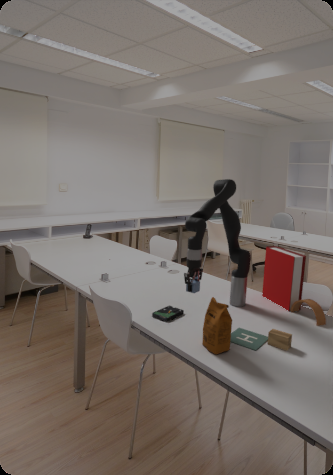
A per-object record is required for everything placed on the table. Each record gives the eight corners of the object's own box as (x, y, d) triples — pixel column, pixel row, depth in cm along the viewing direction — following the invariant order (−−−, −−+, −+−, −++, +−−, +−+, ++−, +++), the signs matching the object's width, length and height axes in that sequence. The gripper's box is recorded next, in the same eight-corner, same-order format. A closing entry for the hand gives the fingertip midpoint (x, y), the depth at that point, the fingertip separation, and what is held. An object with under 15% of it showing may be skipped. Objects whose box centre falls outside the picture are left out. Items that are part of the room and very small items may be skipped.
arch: (298, 310, 203) (299, 294, 201) (325, 324, 185) (327, 306, 183) (290, 311, 201) (291, 295, 199) (317, 326, 183) (319, 308, 181)
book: (300, 310, 204) (306, 255, 198) (288, 311, 201) (294, 256, 195) (271, 294, 229) (275, 245, 223) (260, 295, 226) (264, 246, 220)
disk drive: (168, 309, 199) (151, 317, 188) (169, 305, 199) (151, 312, 187) (183, 314, 193) (167, 323, 182) (184, 309, 193) (167, 317, 181)
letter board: (239, 328, 177) (239, 327, 177) (269, 338, 167) (269, 337, 167) (223, 339, 165) (223, 338, 164) (255, 350, 155) (255, 349, 155)
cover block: (271, 340, 165) (272, 328, 164) (290, 346, 160) (292, 334, 159) (267, 344, 161) (268, 332, 160) (287, 350, 156) (288, 338, 155)
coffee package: (217, 339, 164) (220, 294, 160) (233, 352, 153) (236, 303, 149) (198, 343, 160) (201, 297, 156) (213, 356, 149) (216, 307, 145)
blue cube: (191, 288, 183) (191, 279, 182) (199, 290, 180) (200, 281, 179) (186, 291, 179) (186, 281, 178) (194, 293, 176) (194, 283, 175)
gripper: (195, 254, 184) (194, 285, 187) (179, 258, 173) (178, 292, 176) (208, 256, 179) (206, 288, 183) (192, 261, 168) (191, 295, 171)
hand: (192, 290), depth 179 cm, fingers closed on blue cube, 5 cm apart
